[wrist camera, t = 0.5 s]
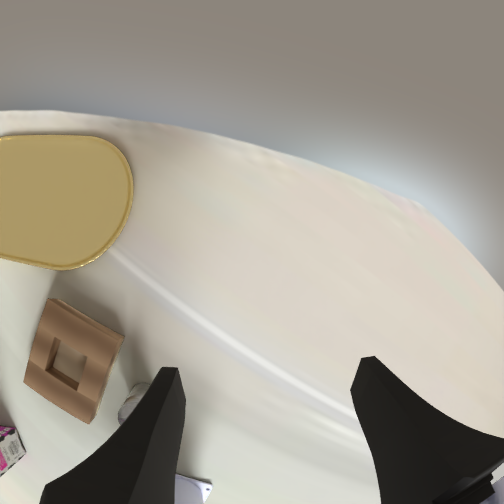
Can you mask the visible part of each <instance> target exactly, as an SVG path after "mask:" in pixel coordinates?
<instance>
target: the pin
mask: <svg viewBox="0 0 504 504" xmlns="http://www.w3.org/2000/svg"><path fill="white" fill-rule="evenodd" d="M149 387H150V384H147V383H139V384H137V385H135V386H134V388H133V389H132V391H131V392H130V394H129V396H128V397H127V399H126V401H125V402H124V404H123V406H122V407H121V409H120V410H119V413H118V421H119V423H120V425H122V424H123V422H124V421H125V420H126V419H127V417H128V416H129V415H130V414H131V412H132V411H133V410H134V408H135V407H136V406H137V404H138V403H139V401H140V400H141V399H142V397H143V396H144V394H145V393H146V391H147V390H148V388H149Z"/></svg>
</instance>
